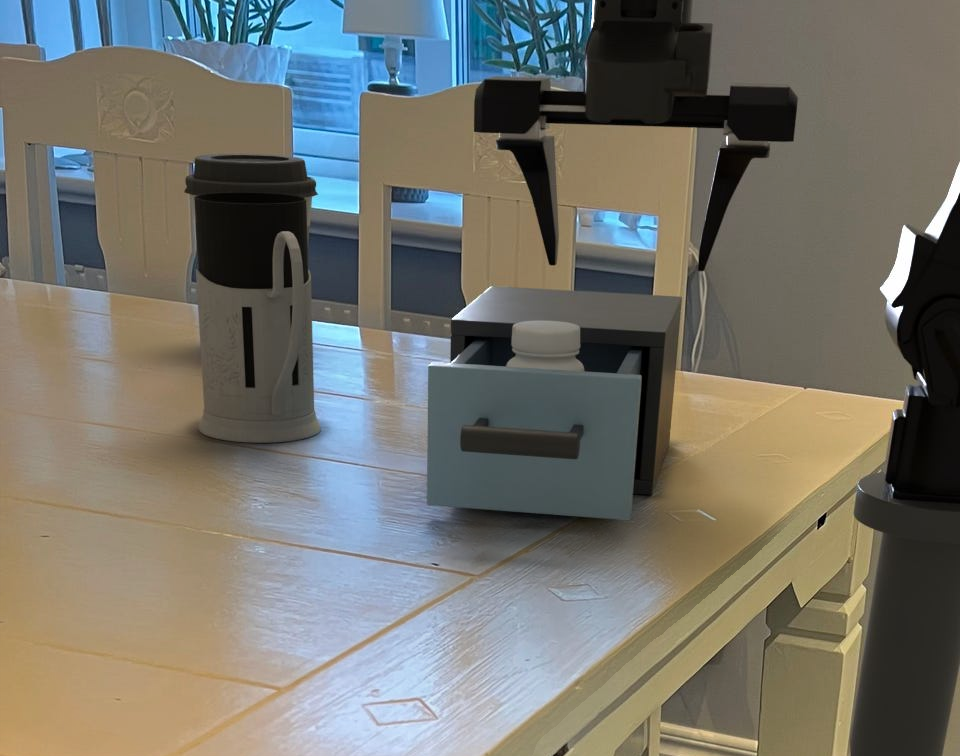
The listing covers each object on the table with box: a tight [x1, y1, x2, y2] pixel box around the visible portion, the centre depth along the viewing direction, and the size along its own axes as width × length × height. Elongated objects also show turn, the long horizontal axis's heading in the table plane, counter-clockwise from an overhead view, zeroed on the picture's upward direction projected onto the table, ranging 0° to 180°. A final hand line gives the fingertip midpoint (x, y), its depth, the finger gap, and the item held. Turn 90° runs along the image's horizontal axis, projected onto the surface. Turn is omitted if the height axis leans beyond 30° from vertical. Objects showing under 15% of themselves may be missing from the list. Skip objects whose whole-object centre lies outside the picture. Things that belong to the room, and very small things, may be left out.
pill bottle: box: [506, 321, 584, 371], centre depth 95 cm, size 5×5×8 cm
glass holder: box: [194, 192, 322, 444], centre depth 109 cm, size 9×14×15 cm, turn 24°
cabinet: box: [449, 285, 683, 496], centre depth 106 cm, size 15×13×10 cm
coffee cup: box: [183, 153, 319, 242], centre depth 138 cm, size 11×11×15 cm
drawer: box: [426, 337, 646, 521], centre depth 95 cm, size 18×12×8 cm, turn 170°
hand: (626, 267), depth 99 cm, fingers open, 9 cm apart
